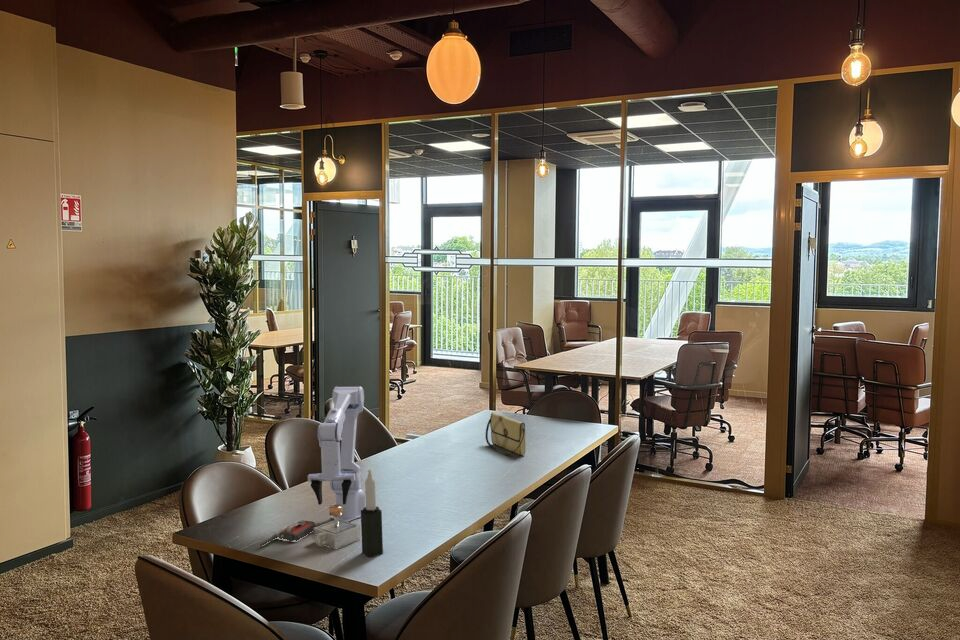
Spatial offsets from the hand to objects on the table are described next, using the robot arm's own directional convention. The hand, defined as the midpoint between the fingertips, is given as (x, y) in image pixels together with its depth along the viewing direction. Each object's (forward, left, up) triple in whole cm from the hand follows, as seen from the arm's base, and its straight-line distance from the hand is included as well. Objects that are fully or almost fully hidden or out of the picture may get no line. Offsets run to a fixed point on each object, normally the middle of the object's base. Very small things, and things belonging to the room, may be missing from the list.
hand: (332, 503), depth 231 cm
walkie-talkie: (+10, -10, -11) cm, 18 cm away
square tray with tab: (+2, +4, -10) cm, 11 cm away
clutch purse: (-114, -20, -11) cm, 116 cm away
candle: (+2, +20, -11) cm, 23 cm away
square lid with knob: (+2, +4, -7) cm, 8 cm away
